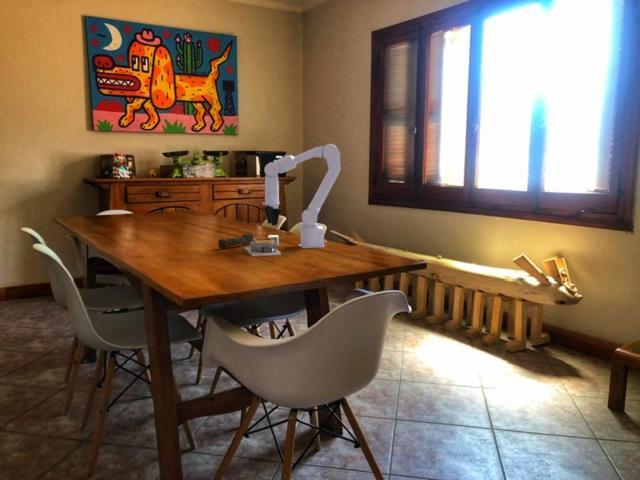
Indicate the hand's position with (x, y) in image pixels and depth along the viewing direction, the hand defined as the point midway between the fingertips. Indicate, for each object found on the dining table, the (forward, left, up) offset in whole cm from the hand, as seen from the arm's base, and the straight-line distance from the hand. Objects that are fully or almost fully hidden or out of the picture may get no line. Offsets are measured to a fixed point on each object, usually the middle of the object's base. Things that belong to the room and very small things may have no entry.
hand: (272, 224), depth 216 cm
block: (-2, -6, -8) cm, 10 cm away
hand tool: (+19, -2, -13) cm, 23 cm away
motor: (+7, +12, -9) cm, 17 cm away
